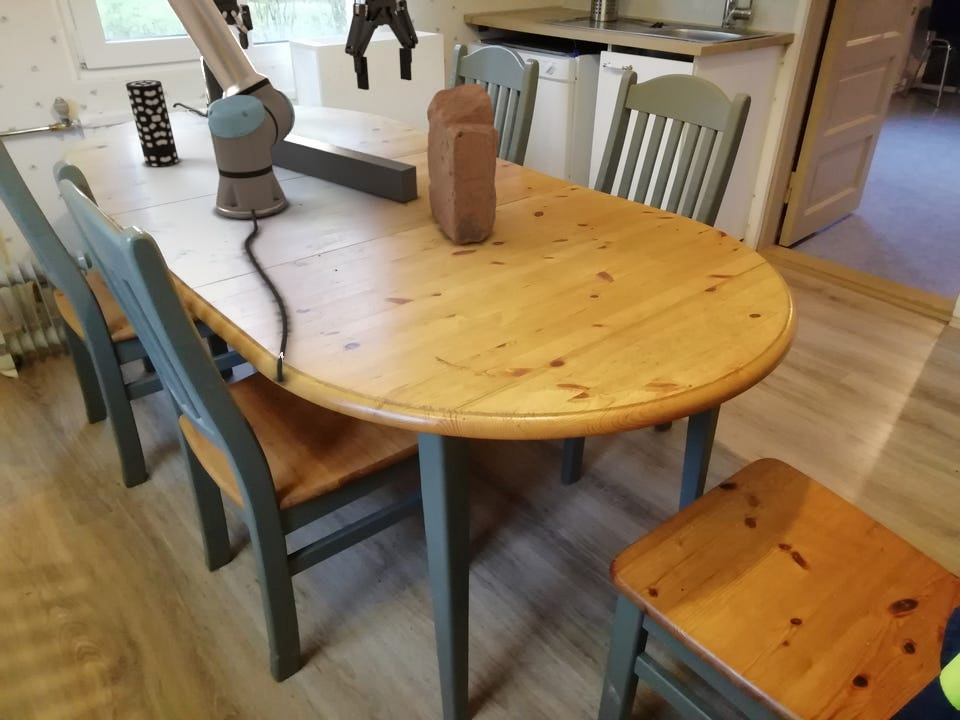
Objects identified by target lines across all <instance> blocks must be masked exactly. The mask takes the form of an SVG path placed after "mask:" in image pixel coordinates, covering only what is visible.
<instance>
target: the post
mask: <svg viewBox="0 0 960 720" xmlns="http://www.w3.org/2000/svg"><path fill="white" fill-rule="evenodd" d="M270 153H271V160H272V165H275V166H278V167H281V168H284V169H287V170H291V171H294V172H298V173H301V174H305V175H308V176H312V177H315V178H318V179H322V180H324V181H325V180H326V181H328V182H332V183H335V184H338V185H342V186H345V187H349V188H353V189H356V190H360V191H363V192H366V193H370V194H373V195H375V196H379V197H383V198H386V199H389V200H392V201H396V202H400V203H406V202H409V201H412V200H414V199H416V198H418V180H417V179H418V178H417V177H418V176H417V165H413V164H409V163H405V162H401V161H398V160H394V159H391V158H385V157H382V156H377V155H375V154H370V153H367V152H362V151H360V150H359V151H358V150H355V149H351V148H347V147H342V146H338V145H335V144H331V143H328V142H323V141H320V140H316V139H311V138H308V137H303V136H300V135H296V134H292V133H289V134H288V136H287V137H286V138H285V139H284V140H283V141H281V142H279V143H277V144H276V145H275V146H273V147H272V148H271V149H270Z"/></svg>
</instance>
